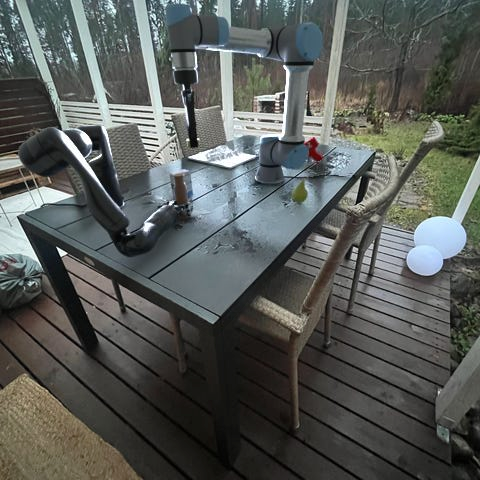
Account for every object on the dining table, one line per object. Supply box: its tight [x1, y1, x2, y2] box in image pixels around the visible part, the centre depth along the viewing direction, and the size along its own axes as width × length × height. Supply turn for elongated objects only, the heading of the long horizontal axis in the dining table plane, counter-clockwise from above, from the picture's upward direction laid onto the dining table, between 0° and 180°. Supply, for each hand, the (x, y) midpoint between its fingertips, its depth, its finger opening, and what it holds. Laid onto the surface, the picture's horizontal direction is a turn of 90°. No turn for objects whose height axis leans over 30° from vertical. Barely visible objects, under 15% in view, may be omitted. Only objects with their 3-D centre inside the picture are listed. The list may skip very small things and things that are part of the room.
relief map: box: [188, 144, 257, 170], centre depth 178 cm, size 27×35×5 cm
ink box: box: [168, 168, 194, 200], centre depth 124 cm, size 8×5×12 cm, turn 135°
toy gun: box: [304, 136, 324, 164], centre depth 170 cm, size 18×4×15 cm
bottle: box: [174, 173, 191, 220], centre depth 106 cm, size 5×5×18 cm
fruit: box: [291, 174, 311, 204], centre depth 118 cm, size 7×8×12 cm
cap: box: [186, 137, 201, 148], centre depth 97 cm, size 4×4×2 cm
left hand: (185, 200), depth 109 cm, fingers closed on bottle, 4 cm apart
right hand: (193, 145), depth 98 cm, fingers closed on cap, 4 cm apart
